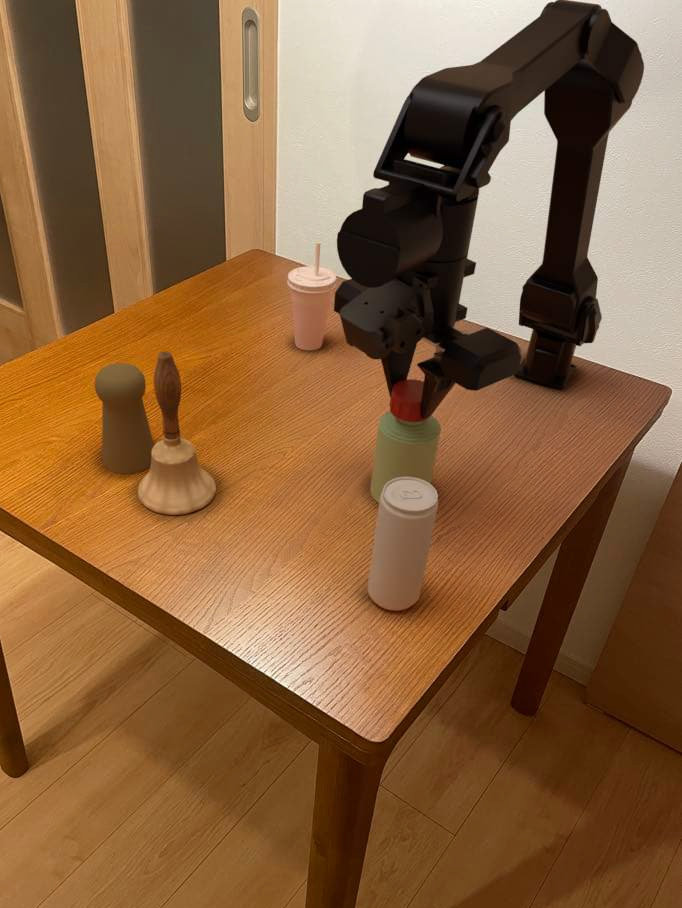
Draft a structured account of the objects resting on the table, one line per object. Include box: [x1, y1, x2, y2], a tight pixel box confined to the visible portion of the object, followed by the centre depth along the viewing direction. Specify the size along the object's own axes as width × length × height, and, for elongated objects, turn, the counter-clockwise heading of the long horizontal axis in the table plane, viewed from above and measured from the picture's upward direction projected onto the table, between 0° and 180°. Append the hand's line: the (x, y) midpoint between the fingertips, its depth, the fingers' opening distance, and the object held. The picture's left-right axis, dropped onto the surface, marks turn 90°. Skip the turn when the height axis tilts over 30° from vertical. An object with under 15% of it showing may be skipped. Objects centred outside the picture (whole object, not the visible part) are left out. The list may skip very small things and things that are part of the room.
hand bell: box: [137, 350, 217, 516], centre depth 79 cm, size 8×8×16 cm
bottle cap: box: [388, 378, 429, 422], centre depth 78 cm, size 4×4×2 cm
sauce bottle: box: [369, 410, 442, 504], centre depth 82 cm, size 6×6×11 cm
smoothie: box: [286, 241, 337, 351], centre depth 105 cm, size 6×6×14 cm
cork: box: [94, 362, 155, 475], centre depth 85 cm, size 6×6×11 cm
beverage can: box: [367, 477, 439, 612], centre depth 70 cm, size 5×5×12 cm
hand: (410, 406), depth 78 cm, fingers closed on bottle cap, 4 cm apart
